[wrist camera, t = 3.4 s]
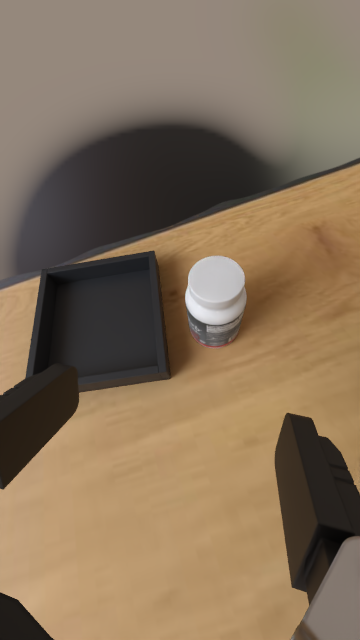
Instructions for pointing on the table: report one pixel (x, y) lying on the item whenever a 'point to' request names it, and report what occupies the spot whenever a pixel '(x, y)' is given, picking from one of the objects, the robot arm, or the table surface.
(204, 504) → the table surface
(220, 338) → the pill bottle
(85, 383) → the tray
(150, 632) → the table surface
